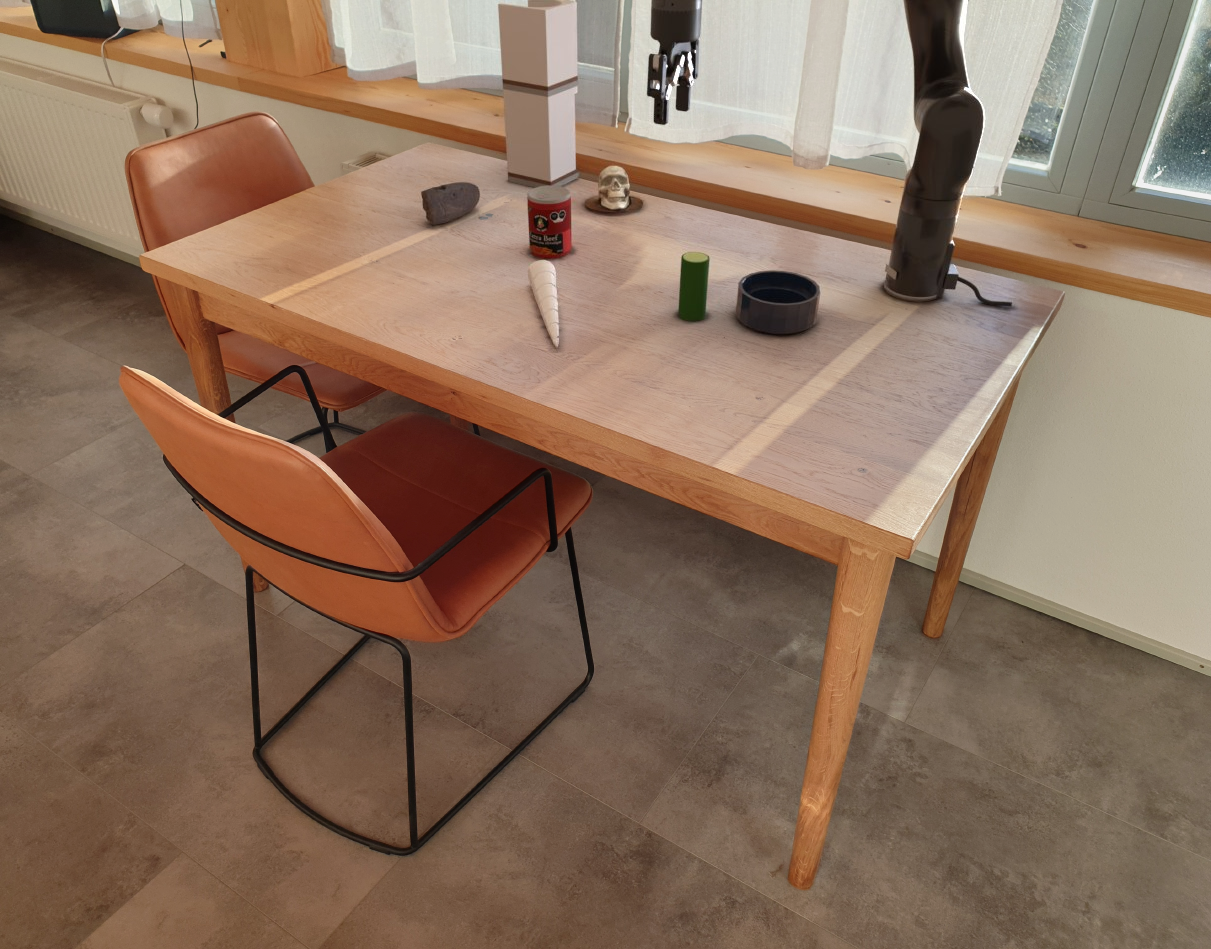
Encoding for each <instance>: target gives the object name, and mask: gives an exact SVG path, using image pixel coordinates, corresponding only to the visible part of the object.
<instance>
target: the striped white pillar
mask: <svg viewBox="0 0 1211 949" xmlns="http://www.w3.org/2000/svg"><path fill="white" fill-rule="evenodd" d="M577 8H578V3H577V1H574V0H527V6H523V5H515V4H508V3H501V2H500V3H498V4H497V11H498V24H499V25H498V27H499V29H498V30H499V44H500V46H499V47H500V57H501V58H500V62H501V80H502V97H503V112H504V113H503V114H504V133H505V144H506V145H505V147H506V148H505V149H506V165H507V167H506V168H507V181H508V182H510V183H514V184H519V185H523V186H527V187H532V188H536V187H540V186H560V187H563V186H565V185H566V184H568V183H571V182H572V181H574V180H576V179H578V178H580V168H579V167H577V164H576V162H577V160H576V159H577V158H576V156H577V155H576V154H577V153H576V96H575V95H576V94H578V93H579V86H578V85H579V81H578V80H579V78H578V77H579V74H578V73H579V72H578V71H579V70H578V9H577Z"/></svg>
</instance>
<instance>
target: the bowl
mask: <svg viewBox="0 0 1211 949" xmlns="http://www.w3.org/2000/svg"><path fill="white" fill-rule="evenodd" d="M821 293H822V290H821V286H820V285H819V284H818V283H817V282H816V281H815V280H814V279H812V278H810V277H808V276H806V275H803V274H801V273H797V272H792V271H786V270H773V269H772V270H771V269H770V270H760V271H756V272H751V273H748V274H747V275H745V276H743V277H741V279H740V280H739V282H738V284H737V295H736V305H735V316H736V318H737V319H738V320H739V322H740V323H742V324H743V325H745V326H746V327H748V328H750V329H753V330H754V331H758V332H760V333H763V334H764V333H765V334H771V335H790V334H795V333H799V332H802V331H806V330H808V329H809V328H811V327H813V326H814V325H815V323H816V322H817V318H818V313H819V306H820V299H821Z"/></svg>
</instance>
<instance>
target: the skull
mask: <svg viewBox="0 0 1211 949" xmlns="http://www.w3.org/2000/svg"><path fill="white" fill-rule="evenodd" d="M629 181H630V180H629V176H628V173H627V172H626V170H625V169H624V168H623V167H621V166H619V165H609V166H607V167H605V168H603V169H602V171H601V172H600V173H599V175H598V180H597V190H598V195H596V196H592V197H590V198H588V199H586V200H585V201H584V206H586V207H587V208H588V209H591V210H595V211H600V212H606V213H607V212H608V213H610V212H611V213H624V212H629V211H634V210H637V209H641V208H642V207H643V206H644V201H643V199H641V198H639V197H636V196H633V195H630V189H631V184H630V182H629Z"/></svg>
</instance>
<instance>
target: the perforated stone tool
mask: <svg viewBox="0 0 1211 949" xmlns="http://www.w3.org/2000/svg"><path fill="white" fill-rule="evenodd" d="M420 194H421V200H422V204H421V206H422V209H423V210H424V212H425V218H426V220H427V222H429V223H430V224H431V225H433V226H435V225H440V224H441V225H442V224H445V223H449V222H452V221H455V220H456V219H459V218H460V217H463V216H465V215H467V214H469V213H470V212H471V211H473V210H474V209H475V208H476V206H477V205H478V204H479V202H480V199H481V198H480V197H481V193H480V188H479V186H477V185H476V184H474V183H471V182H466V181H459V182H458V181H457V182H451V183H445V184H440V185H439V186H433V187H430V188H426V189H424V190H421V192H420Z"/></svg>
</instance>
